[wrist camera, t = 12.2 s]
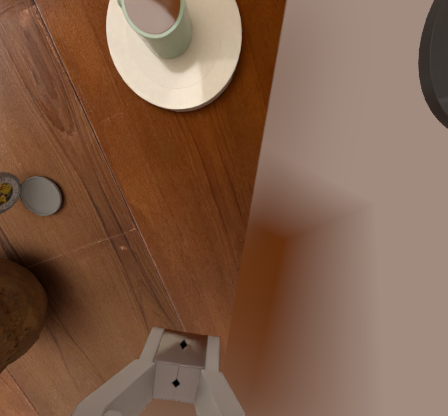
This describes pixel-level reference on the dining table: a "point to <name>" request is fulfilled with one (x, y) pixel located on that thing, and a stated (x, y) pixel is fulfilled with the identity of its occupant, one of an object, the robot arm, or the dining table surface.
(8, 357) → the bowl
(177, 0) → the teacup
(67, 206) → the dining table surface
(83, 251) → the dining table surface
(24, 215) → the dining table surface
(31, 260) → the dining table surface
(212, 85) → the plate
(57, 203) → the pocket watch
